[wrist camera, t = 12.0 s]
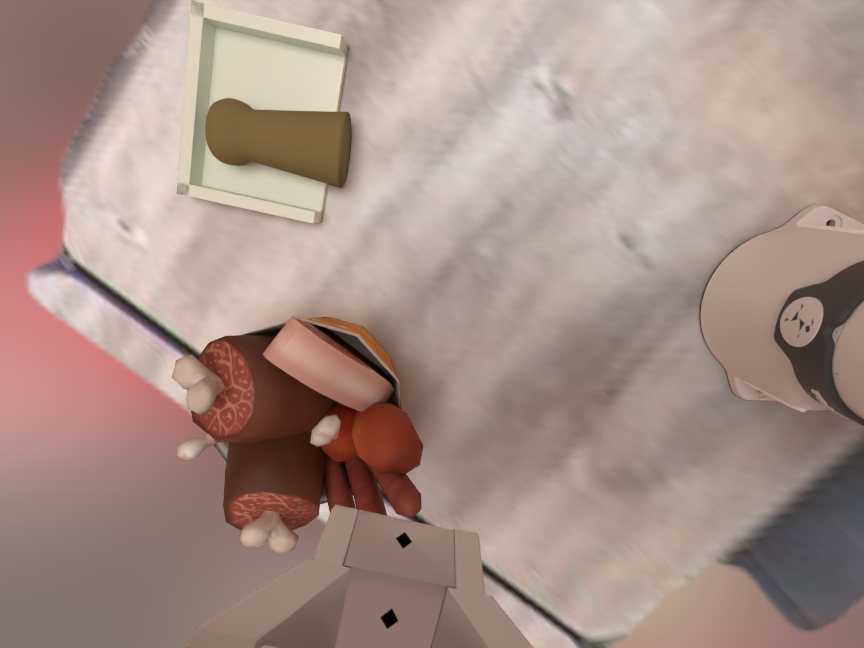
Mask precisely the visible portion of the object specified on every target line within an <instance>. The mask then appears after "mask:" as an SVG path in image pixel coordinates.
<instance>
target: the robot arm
mask: <svg viewBox="0 0 864 648" xmlns="http://www.w3.org/2000/svg"><path fill="white" fill-rule="evenodd" d="M828 220H829V226H826V222H827V221H828ZM701 327H702V332H703V336H704V339H705V341H706V343H707V345H708V347H709V349H710V351H711V352H712V353H713V355H714V356H715V357H716V358H717V359H718V361H719V362H720V363H721V364H722V365H723V367H724V368H725V370H726V371H727V375H728V379H729V383H730V386H731V389H732V391H733V393H734V394H735V395H736V396H738V397H740V398H742V399H745V400H755V401H779V402H781V403H783V404H785V405H787V406H789V407H791V408H793V409H795V410H798V411H801V412H806V411H807V410H817V411H825V410H830V411H832V412H834V413H835V414H837V415H839V416H841V417H843V418H845V419H848V420H850V421H852V422H853V421H854V422H856V423H859V424H861V425H864V224H863V223H861V222H859V221H857V220H855V219H853V218H851V217H849V216H847V215H844V214H842V213H840V212H838V211H836V210H834V209H832V208H830V207H827V206H822V205H811V206H809V207H807V208H805V209H803V210H802V211H801V212H799V213H798V214H797V215H796V216H794V217H793V218H792V219H791V220H790V221H788V222H787V223H786V224H785V225H783V226H781V227H779V228H777V229H775V230H772V231H769V232H767V233H764V234H761V235H759V236H756V237H754V238H752V239H750V240H749V241H747V242H745V243H744V244H742V245H741V246H739V247H738V248H737V249H735V250H734V251H733V252H732V253H731V254H729V255H728V256H727V257H726V258H725V259H724V261H723V262H722V263H721V264H720V265H719V267H718V268H717V269H716V271H715V272H714V274H713V275H712V277H711V279H710V281H709V283H708V285H707V287H706V290H705V293H704V296H703V300H702V305H701ZM185 648H533V646H532V645H531V644H530V643H529V641H528V640H527V639H526V638H525V636H524V635H523V634H522V633H521V632H520V630H519V629H518V628H517V627H516V625H515V624H514V623H513V622H512V620H511V619H510V618H509V617H508V615H507V614H506V613H505V612H504V610H503V609H502V608H501V607H500V605H499V604H498V603H497V602H496V600H495V599H494V598H493V597H492V596H488V595H485V590H484V580H483V571H482V561H481V551H480V542H479V536H478V534H477V533H474V532H468V531H462V530H456V529H453V530H451V529H446V528H441V527H436V526H431V525H426V524H421V523H416V522H411V521H406V520H403V519H399V518H395V517H390V516H386V515H381V514H377V513H373V512H368V511H364V510H358V509H354V508H350V507H345V506H340V505H334V507H333V508H332V510H331V513H330V515H329V518H328V521H327V524H326V526H325V529H324V532H323V534H322V537H321V540H320V542H319V545H318V548H317V551H316V553H315V556H314V559H313V560H308V559H305V560H303V561H302V562H300V563H298V564H297V565H295V566H294V567H292V568H291V569H289V570H287V571H286V572H284V573H283V574H281V575H280V576H278V577H277V578H275V579H273V580H272V581H270V582H269V583H267V584H266V585H264V586H262V587H261V588H259V589H258V590H256V591H255V592H253V593H252V594H250V595H249V596H247V597H245V598H244V599H242V600H241V601H239V602H238V603H236V604H234V605H233V606H231V607H230V608H228V609H226V610H225V611H223V612H222V613H220V614H219V615H217V616H216V617H214V618H212V619H211V620H209V621H208V622H206V623H205V624H203V625H201V626H200V627H198V628H197V629H196V630H195V632H194V634H193V635H192V637H191V639H190V640H189V642H188V644H187V646H186V647H185Z"/></svg>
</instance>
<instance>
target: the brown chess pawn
mask: <svg viewBox="0 0 864 648" xmlns="http://www.w3.org/2000/svg"><path fill="white" fill-rule="evenodd" d="M205 134H206V141H207V145H208V147H209V149H210V151H211V153H212V155H213V156H214V157H215V158H216V159H218V160H219V161H220V162H222V163H225V164H228V165H235V166H242V165H246V164H248V163H250V162H255V163H259V164H262V165H265V166H269V167H272V168H276V169H279V170H282V171H286V172H289V173H293V174H296V175H299V176H303V177H306V178H310V179H313V180H316V181H320V182H323V183H327V184H330V185H333V186H337V187H340V188H342V187H343V185H344V183H345V180H346V176H347V172H348V166H349V160H350V150H351V118H350V114H349V113H348V112H325V111H289V110H253V109H252V108H251V107H250V106H249V105H248V104H246V103H244V102H242V101H240V100H237V99H232V98H225V99H221V100H218V101H216V102H214V103H213V104H212V105H211V107H210V109H209V111H208V114H207V117H206V123H205Z"/></svg>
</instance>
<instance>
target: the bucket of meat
mask: <svg viewBox="0 0 864 648" xmlns="http://www.w3.org/2000/svg"><path fill="white" fill-rule="evenodd" d="M172 378H173V379H174V380H175V381H177V382H178V384H179V385H180V386H181V387H182V388H183V389H187V390H188V391H187V398H186V401H187V408H188V409H189V410H191V412H192V418H193V422H194V423H195V424H197V425H198V426H199V427H201V428H202V429H203V430H204V431H205V432H206V434H205V435H204V436H203V437H201V438H196V439H191V440H188V441H186V442H185V443H183V444H182V445H180V446H179V447H178V456H179V457H180V458H182V459H183V460H189V459H193V458H196V457H198V456H199V455H200V454H201V453H202V451H204V449H205V448H206V447H209V446H211V445H214V446H215V447H216V448H217V450H218V451H219V453H220V454H221V455H222V457H224V459H225V461H226V462H227V463H226V470H225V486H224V487H225V488H224V503H223V504H224V505H223V506H224V513H225V519H226V522H227V523H229V524H230V525H232V526H234V527H236V528H238V529H240V530H241V532H240V535H239V536H240V540H241V541H242V543H243V544H244V546H245V547H256V546H261V545H262V544H264V543H265V542H266V541H267V543H268V546H269V547H270V548H272V549H273V550H274V551H275V552H277V553H279V554H280V553H284V552H287V551H290V550H294V549H295V546H296V543H297V540H298V538H299V537H298V535H297V534H295V533H294V532H293V531H292V530H294V529H297V528H299V527H302V526H305V525H306V524H308V523H309V522H310V521H312V520H313V519H314V518H316V517H317V516H318V515H319V507H320V504H323V503H326V502H328V506H329V510H330V513H331V510H332V508H333V507H334V505H340V506H345V507H350V508H354V509H358V510H364V511H368V512H373V513H377V514H381V515H386V516H387V514H386V510H385V506H384V502H383V498H382V494H381V492H380V489H379V486H378V484H379V485H380V487H381V489H382V490H383V492H384V494H385V495H386V497H387V498H388V500H389V502H390V503H391V505H392V507H393V508H394V510H395V512H396V513H397V514H399V515H402V516H406V517H409V518H410V517H413V516H414V515H415V514H417V513H418V512H419V511H420V509H421V494H420V492H419V491H418V490H417V488H416V487H415V486H414V484H413V483H412V482H411V480H410V479H409V478H408V476H407V475H406V473H407V472H409V471H411V470H412V469H414V468H415V467H417V466H419V465H420V460H421V455H422V450H423V444H422V442H421V440H420V438H419V436H418V434H417V432H416V430H415V428H414V426H413V424H412V423H411V421H410V419H409V417H408V415H407V413H406V412H404V411H402V410H401V401H400V383H399V379H398V378H397V377H396V374H395V371H394V369H393V366H392V363H391V360H390V358H389V355H388V354H387V353H386V352H385V351H384V350H383V349H382V348H381V346H380V345H379V344H378V343H377V342H376V341H375V340H374V339H373V338H372V336H371V335H370V334H369V333H368V332H367V331H366V330H365V329H364V328H363V327H361V326H357V325H354V324H350V323H347V322H343V321H340V320H337V319H333V318H330V317H322V318H312V319H303V318H300V319H297V318H295V317H291V318H290V319H289V320H288V322H286V323H282V324H279V325H275V326H272V327H268V328H265V329H261V330H257V331H254V332H250V333H247V334H243V335H240V336H225V337H222V338H220V339H217V340H215V341H212V342H210V343H209V344H208V345H207V346H206V348H205V349H204V350H203V352H202V353H201V355H200V356H199V357H198V359H196V358H195V357H194V356H193V355H188V356H184V357H182V358H180V359H178V360H176V364H175V368H174V371H173V374H172ZM377 482H378V483H377ZM352 495H354V499H355V503H354V500H353V496H352ZM355 504H356V507H355Z"/></svg>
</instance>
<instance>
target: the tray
mask: <svg viewBox="0 0 864 648" xmlns="http://www.w3.org/2000/svg"><path fill="white" fill-rule="evenodd" d="M348 49H349V46H348V44H347V43H346V41H345V40H344V38H343V37H342V35H340V34H335V33H331V32H327V31H322V30H318V29H314V28H309V27H305V26H301V25H296V24H292V23H287V22H283V21H279V20H274V19H270V18H266V17H261V16H257V15H253V14H248V13H244V12H240V11H235V10H231V9H227V8H222V7H218V6H214V5H209V4H205V3H201V2H196V1H192V3H191V16H190V29H189V42H188V55H187V68H186V81H185V94H184V107H183V120H182V133H181V146H180V159H179V172H178V185H177V194H181V195H186V196H190V197H195V198H199V199H204V200H208V201H213V202H218V203H222V204H227V205H231V206H236V207H240V208H245V209H249V210H254V211H258V212H263V213H268V214H272V215H277V216H281V217H286V218H290V219H295V220H299V221H304V222H308V223H313V224H314V223H319V222H322V218H323V212H324V205H325V199H326V192H327V186H328V184H327V183H323V182H320V181H316V180H313V179H310V178H306V177H303V176H299V175H296V174H293V173H289V172H286V171H282V170H279V169H276V168H272V167H269V166H265V165H262V164H259V163H255V162H250V163H248V164H246V165H242V166H235V165H228V164H225V163H222V162H220V161H219V160H218V159H216V158H215V157H214V156H213V155H212V153H211V151H210V149H209V147H208V145H207V141H206V134H205V123H206V117H207V114H208V111H209V109H210V107H211V105H212V104H213V103H214V102H216V101H218V100H221V99H225V98H232V99H237V100H240V101H242V102H244V103H246V104H248V105H249V106H250V107H251V108H252V109H253V110H289V111H325V112H339V107H340V101H341V94H342V88H343V81H344V75H345V68H346V62H347V55H348Z"/></svg>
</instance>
